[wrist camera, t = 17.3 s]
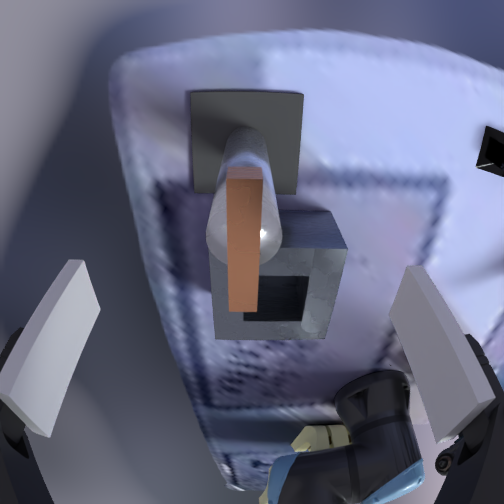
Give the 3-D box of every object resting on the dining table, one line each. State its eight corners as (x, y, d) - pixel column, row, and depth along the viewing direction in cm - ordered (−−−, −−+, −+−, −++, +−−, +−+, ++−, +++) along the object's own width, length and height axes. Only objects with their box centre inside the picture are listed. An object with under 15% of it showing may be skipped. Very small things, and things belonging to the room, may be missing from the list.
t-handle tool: (267, 109, 26) (291, 180, 12) (264, 180, 30) (278, 311, 16) (226, 108, 26) (197, 178, 12) (226, 179, 30) (207, 311, 16)
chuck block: (315, 296, 40) (324, 339, 34) (219, 296, 39) (215, 339, 34) (330, 211, 33) (347, 249, 27) (215, 208, 32) (208, 246, 27)
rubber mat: (295, 192, 32) (295, 194, 31) (195, 191, 31) (194, 193, 31) (302, 94, 26) (303, 94, 25) (191, 92, 26) (190, 92, 25)
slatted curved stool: (393, 415, 63) (408, 479, 48) (364, 440, 72) (375, 496, 57) (271, 419, 60) (275, 497, 45) (257, 444, 69) (259, 508, 54)
